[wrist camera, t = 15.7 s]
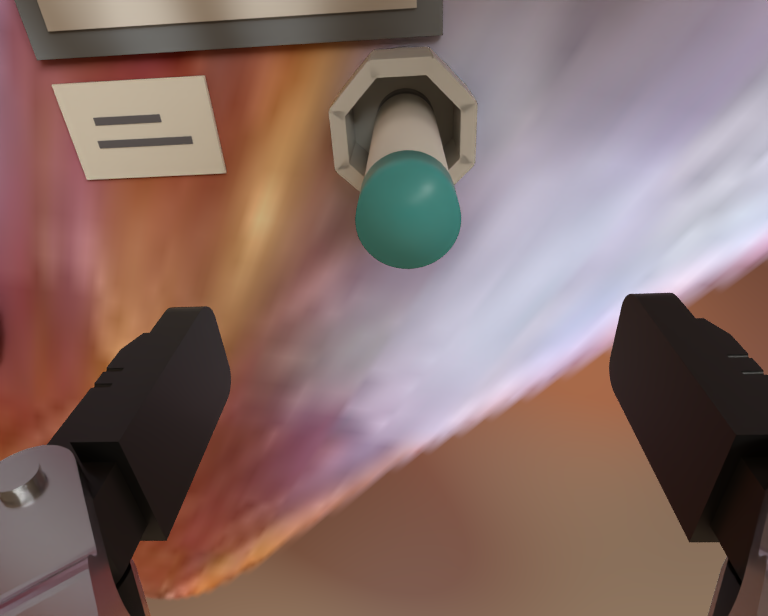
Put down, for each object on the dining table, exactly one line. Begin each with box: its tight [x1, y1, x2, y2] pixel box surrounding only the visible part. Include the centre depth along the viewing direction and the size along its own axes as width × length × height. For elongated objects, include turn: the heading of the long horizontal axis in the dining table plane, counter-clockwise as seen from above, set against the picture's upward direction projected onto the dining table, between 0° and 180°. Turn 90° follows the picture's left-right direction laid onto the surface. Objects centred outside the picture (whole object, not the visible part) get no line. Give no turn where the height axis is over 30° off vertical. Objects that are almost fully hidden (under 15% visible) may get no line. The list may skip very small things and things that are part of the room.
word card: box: [52, 75, 227, 180], centre depth 27 cm, size 5×8×1 cm, turn 93°
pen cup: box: [329, 47, 477, 192], centre depth 25 cm, size 6×6×4 cm
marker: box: [355, 88, 461, 269], centre depth 21 cm, size 3×3×14 cm
